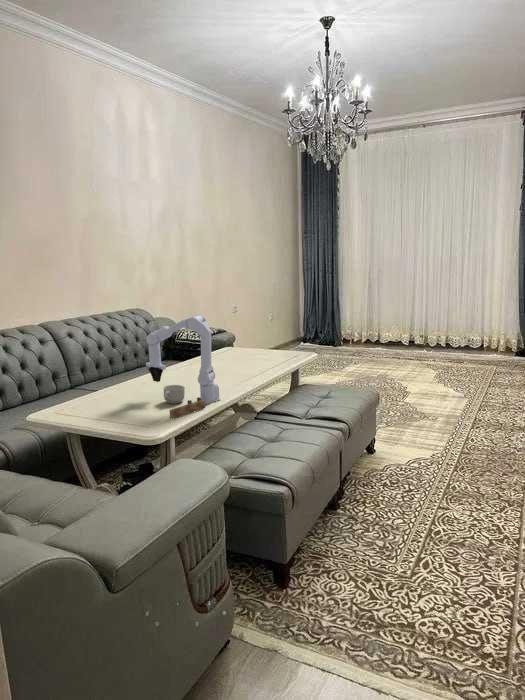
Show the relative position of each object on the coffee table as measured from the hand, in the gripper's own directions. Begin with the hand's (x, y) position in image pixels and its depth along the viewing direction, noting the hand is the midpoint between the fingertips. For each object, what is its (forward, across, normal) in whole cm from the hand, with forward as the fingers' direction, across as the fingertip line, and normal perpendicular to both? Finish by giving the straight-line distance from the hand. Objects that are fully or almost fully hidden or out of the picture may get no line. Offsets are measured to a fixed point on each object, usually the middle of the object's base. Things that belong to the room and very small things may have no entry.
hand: (156, 381), depth 281 cm
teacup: (+10, +12, 0) cm, 16 cm away
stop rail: (+9, +32, -6) cm, 33 cm away
